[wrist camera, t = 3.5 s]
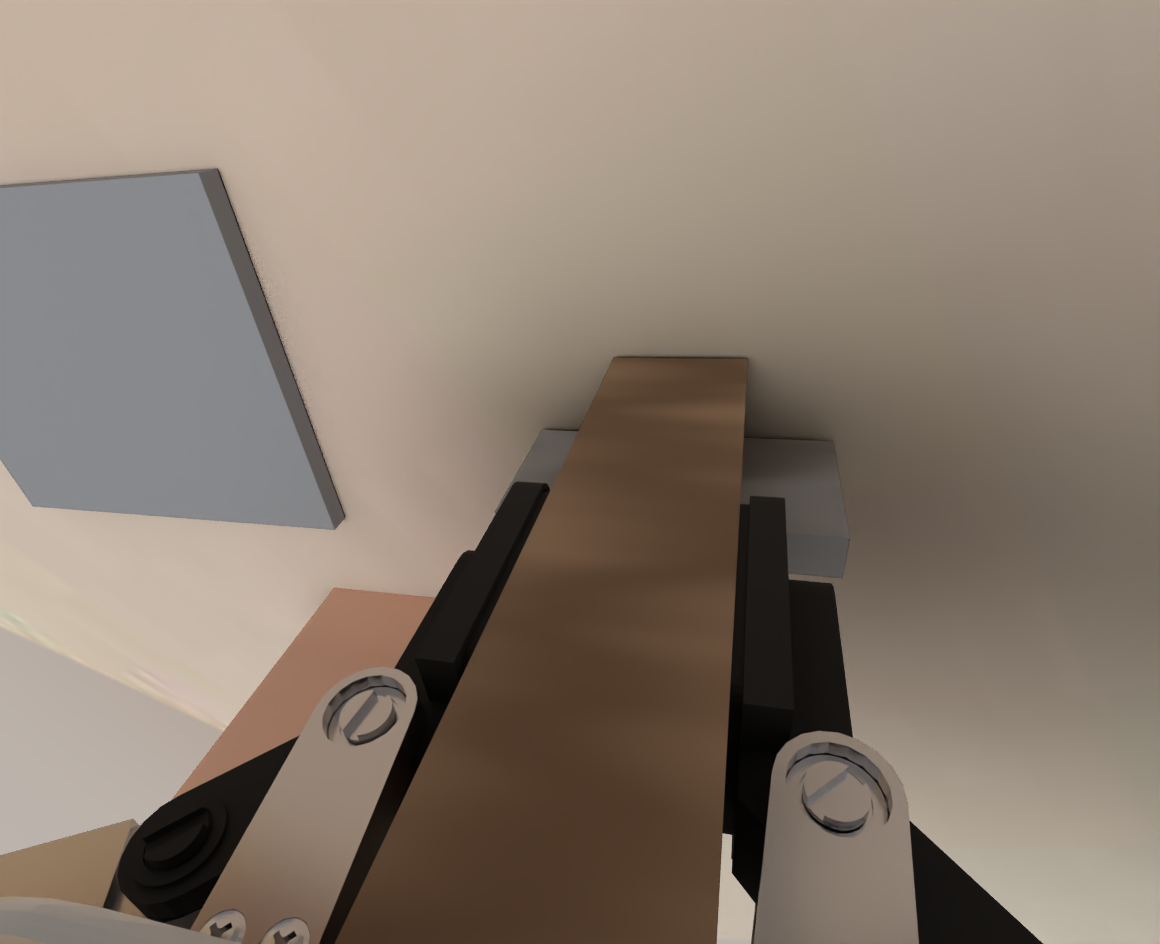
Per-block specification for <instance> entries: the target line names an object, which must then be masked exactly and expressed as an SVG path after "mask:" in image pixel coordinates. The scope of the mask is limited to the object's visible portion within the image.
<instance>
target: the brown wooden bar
mask: <svg viewBox="0 0 1160 944" xmlns="http://www.w3.org/2000/svg"><path fill="white" fill-rule="evenodd" d="M747 366H748V359H701V358H613V360H612V362H611V364H610V367H609V369H608V371H607V373H606V375H605V377H604V379H603V381H602V383H601V385H600V388H599V390H598V392H597V394H596V396H595V398H594V400H593V402H592V404H591V406H590V409H589V411H588V413H587V415H586V417H585V419H584V421H583V423H582V425H581V427H580V430H579V431H560V430H542V431H541V432H540V434H539V436H538V438H537V439H536V441H535V443H534V445H533V446H532V448H531V450H530V451H529V453H528V455H527V457H526V458H525V460H524V462H523V464H522V465H521V467H520V469H519V471H518V472H517V474H516V476H515V478H514V479H513V481H512V483H511V485H510V486H509V488H508V490H507V492H506V493H505V495H504V497H503V499H502V500H501V502H500V504H499V506H498V507H497V509H496V511H495V513H497V511H498V509H499V508H500V506H501V504H502V502H503V501H504V499H505V497H506V495H507V494H508V492H509V490H510V488H511V487H512V485H513V484H514V482H517V481H520V482H536V483H546V484H548V486H549V488H550V492H549V495H548V497H547V499H546V501H545V503H544V505H543V507H542V509H541V511H540V513H539V516H538V518H537V520H536V522H535V524H534V526H533V528H532V530H531V532H530V534H529V537H528V539H527V541H526V543H525V545H524V547H523V549H522V551H521V553H520V555H519V558H518V560H517V562H516V564H515V566H514V568H513V570H512V572H511V574H510V576H509V579H508V581H507V583H506V585H505V587H504V589H503V591H502V593H501V595H500V597H499V599H498V602H497V604H496V606H495V608H494V610H493V612H492V614H491V616H490V618H489V620H488V623H487V625H486V627H485V629H484V631H483V633H482V635H481V637H480V639H479V641H478V644H477V646H476V648H475V650H474V652H473V654H472V656H471V658H470V660H469V662H468V665H467V667H466V669H465V671H464V673H463V675H462V677H461V679H460V681H459V683H458V686H457V688H456V690H455V692H454V694H453V696H452V698H451V700H450V702H449V704H448V707H447V709H446V711H445V713H444V715H443V717H442V719H441V721H440V723H439V725H438V727H437V730H436V732H435V734H434V736H433V738H432V740H431V742H430V744H429V746H428V748H427V751H426V753H425V755H424V757H423V759H422V761H421V763H420V765H419V767H418V769H417V772H416V774H415V776H414V778H413V780H412V782H411V784H410V786H409V788H408V790H407V793H406V795H405V797H404V799H403V801H402V803H401V805H400V807H399V809H398V811H397V814H396V816H395V818H394V820H393V822H392V824H391V826H390V828H389V830H388V832H387V835H386V837H385V839H384V841H383V843H382V845H381V847H380V849H379V851H378V853H377V855H376V858H375V860H374V862H373V864H372V866H371V868H370V870H369V872H368V874H367V876H366V879H365V881H364V883H363V885H362V887H361V889H360V891H359V893H358V895H357V897H356V900H355V902H354V904H353V906H352V908H351V910H350V912H349V914H348V916H347V918H346V921H345V923H344V925H343V927H342V929H341V931H340V933H339V935H338V937H337V939H336V942H335V944H716V942H717V924H718V906H719V887H720V868H721V850H722V831H723V813H724V794H725V775H726V757H727V738H728V720H729V701H730V682H731V664H732V645H733V627H734V608H735V589H736V571H737V552H738V534H739V515H740V504H749V503H750V496H765V497H781V498H785V508H786V532H787V556H788V573H790V574H801V575H813V576H824V577H835V578H843V574H844V569H845V563H846V558H847V552H848V547H849V541H850V534H849V529H848V523H847V517H846V511H845V505H844V499H843V493H842V488H841V482H840V476H839V470H838V464H837V458H836V453H835V447H834V441H812V440H787V439H762V438H744V422H745V403H746V385H747Z"/></svg>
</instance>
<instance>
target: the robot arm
mask: <svg viewBox="0 0 1160 944" xmlns="http://www.w3.org/2000/svg"><path fill="white" fill-rule="evenodd" d="M549 492H550V488H549V486H548V484H546V483H536V482H520V481H517V482H514V484H513V485H512V487H511V488H510V490H509V492H508V494H507V495H506V497H505V499H504V501H503V502H502V504H501V506H500V508H499V509H498V511H497V513H496V515H495V517H494V518H493V520H492V522H491V524H490V525H489V527H488V529H487V531H486V532H485V534H484V536H483V538H482V539H481V541H480V543H479V545H478V546H477V548H476V550H475V551H470V550H468V551H466V552H464V553H463V554H462V555H461V557H460V558H459V559H458V561H457V563H456V564H455V566H454V568H453V569H452V571H451V573H450V574H449V576H448V578H447V579H446V581H445V583H444V585H443V586H442V588H441V590H440V591H439V593H438V595H437V596H436V598H435V600H434V601H433V603H432V605H431V607H430V608H429V610H428V612H427V613H426V615H425V617H424V618H423V620H422V622H421V624H420V625H419V627H418V629H417V630H416V632H415V634H414V635H413V637H412V639H411V640H410V642H409V644H408V646H407V647H406V649H405V651H404V652H403V654H402V656H401V657H400V659H399V661H398V663H397V664H396V666H395V668H389V667H376V668H368V669H365V670H362V671H359V672H356V673H353V674H351V675H350V676H348V677H346V678H344V679H342V680H341V681H339V682H338V683H337V684H336V685H334V686H333V687H332V688H331V689H330V690H329V691H327V692H326V694H325V695H324V696H323V698H322V699H321V700H320V702H319V703H318V704H317V706H316V707H315V709H314V711H313V713H312V715H311V716H310V718H309V720H308V722H307V723H306V725H305V727H304V729H303V731H302V732H301V734H300V735H299V736H297V737H295V738H293V739H291V740H289V741H287V742H285V743H283V744H281V745H279V746H277V747H275V748H273V749H271V750H269V751H267V752H265V753H263V754H261V755H259V756H257V757H255V758H253V759H251V760H249V761H247V762H245V763H243V764H241V765H239V766H237V767H235V768H233V769H231V770H229V771H227V772H225V773H223V774H221V775H219V776H217V777H215V778H213V779H211V780H209V781H207V782H205V783H203V784H201V785H199V786H197V787H195V788H193V789H191V790H189V791H187V792H185V793H183V794H181V795H179V796H177V797H176V798H174V799H173V800H171V801H170V802H168V803H166V804H165V805H163V806H161V807H160V808H159V809H158V810H157V811H156V812H154V813H153V814H152V815H151V816H150V817H149V818H148V819H146V820H145V821H144V823H143V824H142V825H138V823H136V821H135V820H134V819H131V820H127V821H123V822H120V823H116V824H113V825H109V826H105V827H101V828H98V829H94V830H91V831H87V832H84V833H80V834H76V835H73V836H69V837H65V838H62V839H58V840H55V841H51V842H48V843H44V844H40V845H36V846H33V847H29V848H26V849H22V850H19V851H15V852H11V853H8V854H4V855H0V944H335V942H336V939H337V937H338V935H339V933H340V931H341V929H342V927H343V925H344V923H345V921H346V918H347V916H348V914H349V912H350V910H351V908H352V906H353V904H354V902H355V900H356V897H357V895H358V893H359V891H360V889H361V887H362V885H363V883H364V881H365V879H366V876H367V874H368V872H369V870H370V868H371V866H372V864H373V862H374V860H375V858H376V855H377V853H378V851H379V849H380V847H381V845H382V843H383V841H384V839H385V837H386V835H387V832H388V830H389V828H390V826H391V824H392V822H393V820H394V818H395V816H396V814H397V811H398V809H399V807H400V805H401V803H402V801H403V799H404V797H405V795H406V793H407V790H408V788H409V786H410V784H411V782H412V780H413V778H414V776H415V774H416V772H417V769H418V767H419V765H420V763H421V761H422V759H423V757H424V755H425V753H426V751H427V748H428V746H429V744H430V742H431V740H432V738H433V736H434V734H435V732H436V730H437V727H438V725H439V723H440V721H441V719H442V717H443V715H444V713H445V711H446V709H447V707H448V704H449V702H450V700H451V698H452V696H453V694H454V692H455V690H456V688H457V686H458V683H459V681H460V679H461V677H462V675H463V673H464V671H465V669H466V667H467V665H468V662H469V660H470V658H471V656H472V654H473V652H474V650H475V648H476V646H477V644H478V641H479V639H480V637H481V635H482V633H483V631H484V629H485V627H486V625H487V623H488V620H489V618H490V616H491V614H492V612H493V610H494V608H495V606H496V604H497V602H498V599H499V597H500V595H501V593H502V591H503V589H504V587H505V585H506V583H507V581H508V579H509V576H510V574H511V572H512V570H513V568H514V566H515V564H516V562H517V560H518V558H519V555H520V553H521V551H522V549H523V547H524V545H525V543H526V541H527V539H528V537H529V534H530V532H531V530H532V528H533V526H534V524H535V522H536V520H537V518H538V516H539V513H540V511H541V509H542V507H543V505H544V503H545V501H546V499H547V497H548V495H549ZM722 833H725V834H730V835H732V855H731V859H733V860H732V874H733V875H734V876H735V878H736V879H737V880H738V881H739V883H740V884H741V885H742V887H743V888H744V889H745V890H746V892H747V893H748V894H749V896H750V897H751V898H752V899H753V901H754V902H755V911H754V920H753V930H752V939H751V944H1043V943H1042V942H1041V941H1039V940H1038V939H1037V938H1036V937H1035V936H1034V935H1033V934H1032V933H1031V932H1030V931H1029V930H1028V929H1026V928H1025V927H1024V926H1023V925H1022V924H1021V923H1020V922H1019V921H1018V920H1017V919H1016V918H1015V917H1013V916H1012V915H1011V914H1010V913H1009V912H1008V911H1007V910H1006V909H1005V908H1004V907H1003V906H1002V905H1000V904H999V903H998V902H997V901H996V900H995V899H994V898H993V897H992V896H991V895H990V894H988V893H987V892H986V891H985V890H984V889H983V888H982V887H981V886H980V885H979V884H978V883H977V882H975V881H974V880H973V879H972V878H971V877H970V876H969V875H968V874H967V873H966V872H965V871H964V870H962V869H961V868H960V867H959V866H958V865H957V864H956V863H955V862H954V861H953V860H952V859H951V858H949V857H948V856H947V855H946V854H945V853H944V852H943V851H942V850H941V849H940V848H939V847H938V846H936V845H935V844H934V843H933V842H932V841H931V840H930V839H929V838H928V837H927V836H926V835H925V834H923V833H922V832H921V831H920V830H919V829H918V828H917V827H916V826H915V825H914V824H913V823H912V822H910V821H909V811H908V802H907V798H906V795H905V791H904V787H903V784H902V782H901V781H900V779H899V777H898V776H897V774H896V772H895V771H894V769H893V767H892V766H891V765H890V764H889V763H888V762H887V761H886V760H885V759H884V758H883V757H882V756H881V755H880V754H879V753H878V752H877V751H876V750H874V749H872V748H871V747H869V746H868V745H866V744H864V743H863V742H861V741H860V740H858V739H855V738H853V735H852V727H851V719H850V711H849V703H848V695H847V687H846V679H845V671H844V663H843V655H842V647H841V639H840V631H839V623H838V615H837V607H836V599H835V592H834V587H833V585H832V584H830V583H820V582H809V581H798V580H789V579H788V556H787V532H786V508H785V498H781V497H765V496H750V503H749V504H740V515H739V534H738V552H737V571H736V589H735V608H734V627H733V645H732V664H731V682H730V701H729V720H728V738H727V757H726V775H725V794H724V813H723V831H722Z"/></svg>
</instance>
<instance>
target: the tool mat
mask: <svg viewBox="0 0 1160 944" xmlns="http://www.w3.org/2000/svg"><path fill="white" fill-rule="evenodd" d="M0 460H1V461H2V463H3V464H4V466H5V467H6V468H7V470H8V471H9V473H10V474H11V476H12V477H13V478H14V480H15V481H16V483H17V484H18V486H19V487H20V489H21V490H22V491H23V493H24V494H25V496H26V497H27V499H28V500H29V502H30V503H31V504H32V506H34V507H47V508H60V509H72V510H85V511H98V512H111V513H124V514H137V515H150V516H163V517H175V518H188V519H201V520H214V521H227V522H240V523H253V524H266V525H278V526H291V527H304V528H317V529H330V530H335V529H336V528H337V527H338V525H339V524H340V523H341V522H342V521H343V520H344V518H345V517H344V514H343V511H342V509H341V506H340V503H339V501H338V498H337V495H336V492H335V490H334V487H333V484H332V481H331V479H330V476H329V473H328V471H327V468H326V465H325V462H324V460H323V457H322V454H321V451H320V449H319V446H318V443H317V441H316V438H315V435H314V432H313V430H312V427H311V424H310V421H309V419H308V416H307V413H306V410H305V408H304V405H303V402H302V400H301V397H300V394H299V391H298V389H297V386H296V383H295V380H294V378H293V375H292V372H291V370H290V367H289V364H288V361H287V359H286V356H285V353H284V350H283V348H282V345H281V342H280V340H279V337H278V334H277V331H276V329H275V326H274V323H273V320H272V318H271V315H270V312H269V310H268V307H267V304H266V301H265V299H264V296H263V293H262V290H261V288H260V285H259V282H258V279H257V277H256V274H255V271H254V269H253V266H252V263H251V260H250V258H249V255H248V252H247V249H246V247H245V244H244V241H243V239H242V236H241V233H240V230H239V228H238V225H237V222H236V219H235V217H234V214H233V211H232V209H231V206H230V203H229V200H228V198H227V195H226V192H225V189H224V187H223V184H222V181H221V179H220V176H219V173H218V170H217V169H205V170H193V171H180V172H167V173H154V174H141V175H128V176H115V177H103V178H90V179H77V180H64V181H51V182H38V183H25V184H13V185H0Z"/></svg>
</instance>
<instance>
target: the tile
mask: <svg viewBox="0 0 1160 944" xmlns="http://www.w3.org/2000/svg"><path fill="white" fill-rule="evenodd" d="M434 600H435V598H430V597H420V596H410V595H401V594H391V593H381V592H371V591H361V590H352V589H342V588H334V589H333V590H332V591H331V593H330V594H329V595H328V597H327V598H326V599H325V601H324V602H323V603H322V604H321V606H320V607H319V608H318V610H317V611H316V612H315V614H314V615H313V616H312V617H311V619H310V620H309V621H308V623H307V624H306V625H305V627H304V628H303V629H302V630H301V632H300V633H299V634H298V636H297V637H296V638H295V640H294V641H293V642H292V644H291V645H290V646H289V647H288V649H287V650H286V651H285V653H284V654H283V655H282V657H281V658H280V659H279V660H278V662H277V663H276V664H275V666H274V667H273V668H272V670H271V671H270V672H269V674H268V675H267V676H266V677H265V679H264V680H263V681H262V683H261V684H260V685H259V687H258V688H257V689H256V690H255V692H254V693H253V694H252V696H251V697H250V698H249V700H248V701H247V702H246V703H245V705H244V706H243V707H242V709H241V710H240V711H239V713H238V714H237V715H236V717H235V718H234V719H233V720H232V722H231V723H230V724H229V726H228V727H227V728H226V730H225V731H224V732H223V733H222V735H221V736H220V737H219V739H218V740H217V742H216V743H215V744H214V745H213V746H212V748H211V749H210V751H209V752H208V753H207V755H206V756H205V757H204V758H203V760H202V761H201V762H200V764H199V765H198V766H197V767H196V769H195V770H194V771H193V773H192V774H191V775H190V777H189V778H188V779H187V780H186V782H185V783H184V784H183V786H182V787H181V788H180V790H179V791H178V792H177V794H176V795H175V796H174V797H173V799H174V798H176V797H177V796H179V795H181V794H183V793H185V792H187V791H189V790H191V789H193V788H195V787H197V786H199V785H201V784H203V783H205V782H207V781H209V780H211V779H213V778H215V777H217V776H219V775H221V774H223V773H225V772H227V771H229V770H231V769H233V768H235V767H237V766H239V765H241V764H243V763H245V762H247V761H249V760H251V759H253V758H255V757H257V756H259V755H261V754H263V753H265V752H267V751H269V750H271V749H273V748H275V747H277V746H279V745H281V744H283V743H285V742H287V741H289V740H291V739H293V738H295V737H297V736H299V735H300V734H301V732H302V731H303V729H304V727H305V725H306V723H307V722H308V720H309V718H310V716H311V715H312V713H313V711H314V709H315V707H316V706H317V704H318V703H319V702H320V700H321V699H322V698H323V696H324V695H325V694H326V692H327V691H329V690H330V689H331V688H332V687H333V686H334V685H336V684H337V683H338V682H339V681H341V680H342V679H344V678H346V677H348V676H350V675H351V674H353V673H356V672H359V671H362V670H365V669H368V668H376V667H389V668H395V666H396V664H397V663H398V661H399V659H400V657H401V656H402V654H403V652H404V651H405V649H406V647H407V646H408V644H409V642H410V640H411V639H412V637H413V635H414V634H415V632H416V630H417V629H418V627H419V625H420V624H421V622H422V620H423V618H424V617H425V615H426V613H427V612H428V610H429V608H430V607H431V605H432V603H433V601H434ZM173 799H172V800H173Z"/></svg>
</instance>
